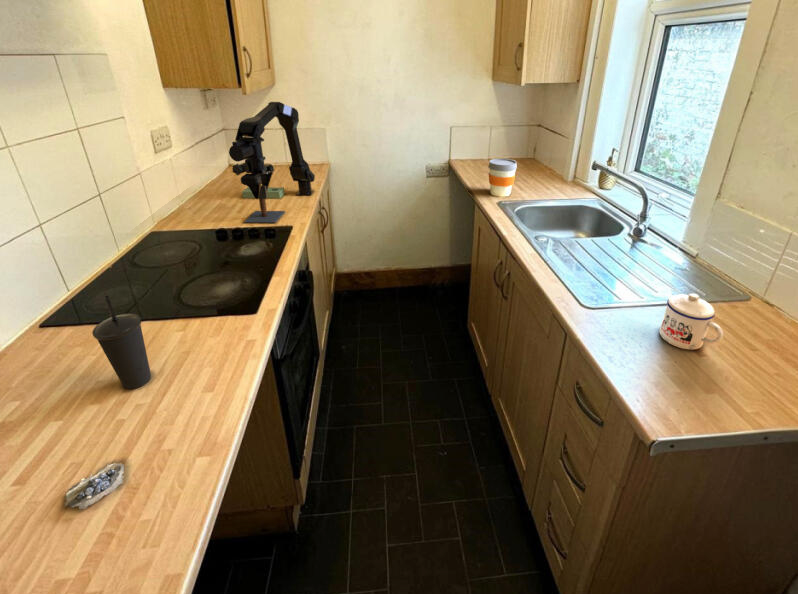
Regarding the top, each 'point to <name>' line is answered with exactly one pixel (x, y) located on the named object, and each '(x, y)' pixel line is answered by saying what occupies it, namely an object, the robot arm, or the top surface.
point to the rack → (271, 192)
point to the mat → (258, 218)
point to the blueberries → (95, 486)
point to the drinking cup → (124, 347)
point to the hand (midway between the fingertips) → (261, 195)
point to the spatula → (263, 200)
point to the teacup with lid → (688, 322)
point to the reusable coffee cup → (501, 176)
